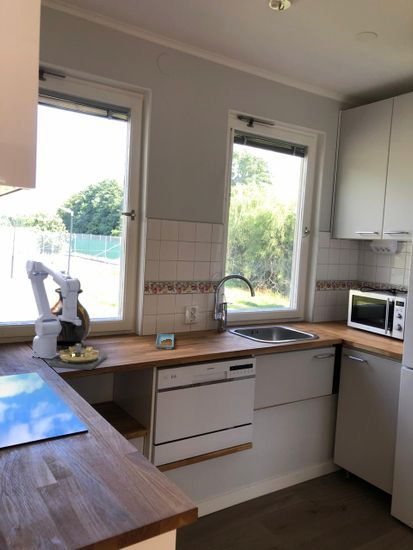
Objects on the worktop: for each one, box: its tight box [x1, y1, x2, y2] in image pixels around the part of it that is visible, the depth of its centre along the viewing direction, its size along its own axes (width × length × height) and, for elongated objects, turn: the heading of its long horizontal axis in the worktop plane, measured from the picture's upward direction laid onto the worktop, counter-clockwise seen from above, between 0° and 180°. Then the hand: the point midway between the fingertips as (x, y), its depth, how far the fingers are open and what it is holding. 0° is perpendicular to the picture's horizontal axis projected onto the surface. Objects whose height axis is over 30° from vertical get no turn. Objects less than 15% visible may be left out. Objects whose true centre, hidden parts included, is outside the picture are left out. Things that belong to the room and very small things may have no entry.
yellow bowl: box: [59, 343, 100, 363], centre depth 192 cm, size 16×16×7 cm
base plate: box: [48, 353, 108, 371], centre depth 192 cm, size 18×20×2 cm
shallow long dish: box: [155, 333, 175, 349], centre depth 235 cm, size 26×9×2 cm, turn 4°
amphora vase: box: [50, 287, 91, 351], centre depth 215 cm, size 22×22×28 cm
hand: (68, 339), depth 187 cm, fingers closed
